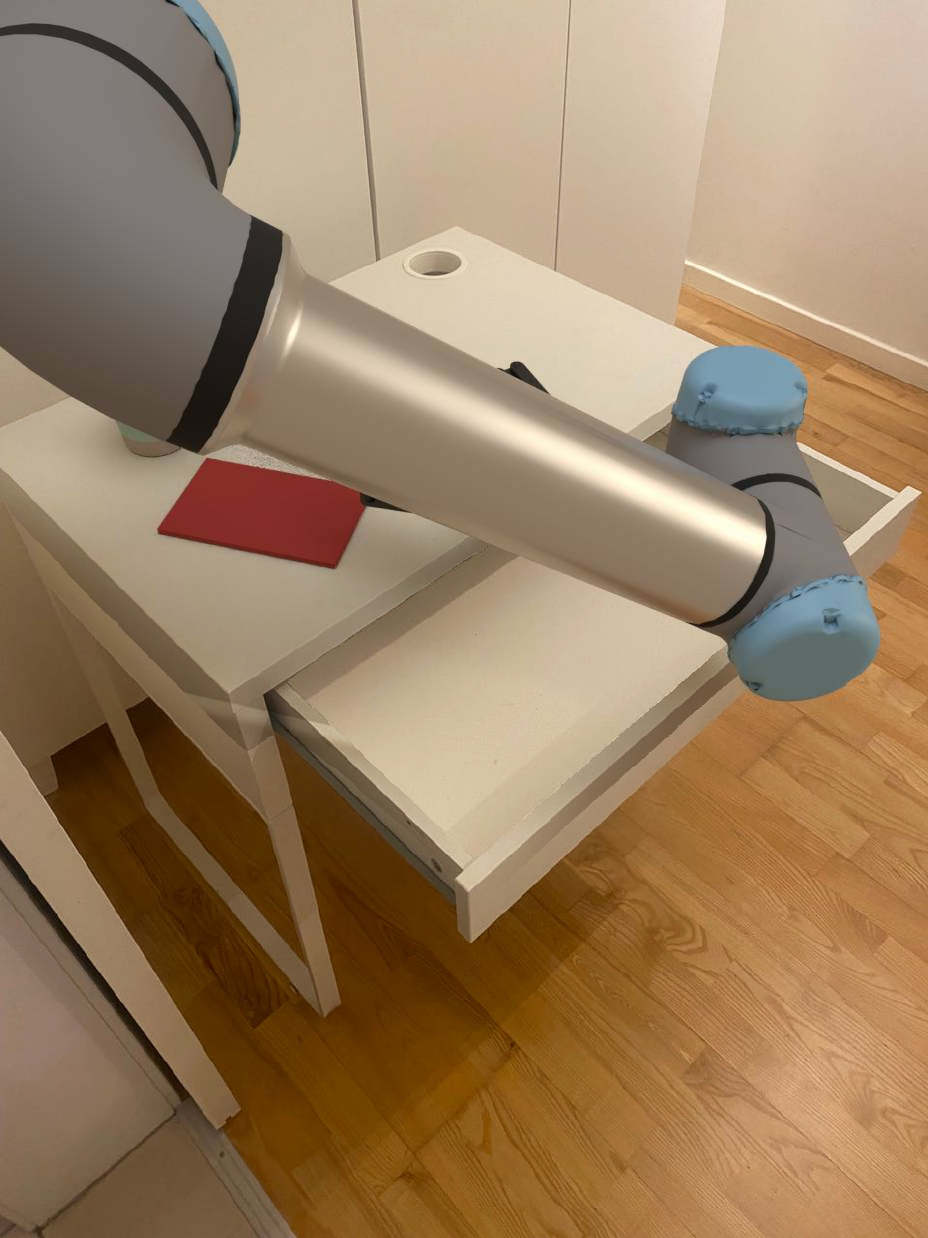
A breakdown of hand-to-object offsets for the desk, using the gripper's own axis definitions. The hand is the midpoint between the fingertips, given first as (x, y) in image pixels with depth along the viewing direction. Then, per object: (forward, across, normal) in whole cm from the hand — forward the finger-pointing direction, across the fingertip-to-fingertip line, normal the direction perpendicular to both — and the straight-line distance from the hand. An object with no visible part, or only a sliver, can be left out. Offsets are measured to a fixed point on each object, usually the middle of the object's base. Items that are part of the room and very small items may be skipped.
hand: (374, 392), depth 81 cm
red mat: (+4, -10, -9) cm, 14 cm away
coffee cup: (+20, -9, -9) cm, 24 cm away
